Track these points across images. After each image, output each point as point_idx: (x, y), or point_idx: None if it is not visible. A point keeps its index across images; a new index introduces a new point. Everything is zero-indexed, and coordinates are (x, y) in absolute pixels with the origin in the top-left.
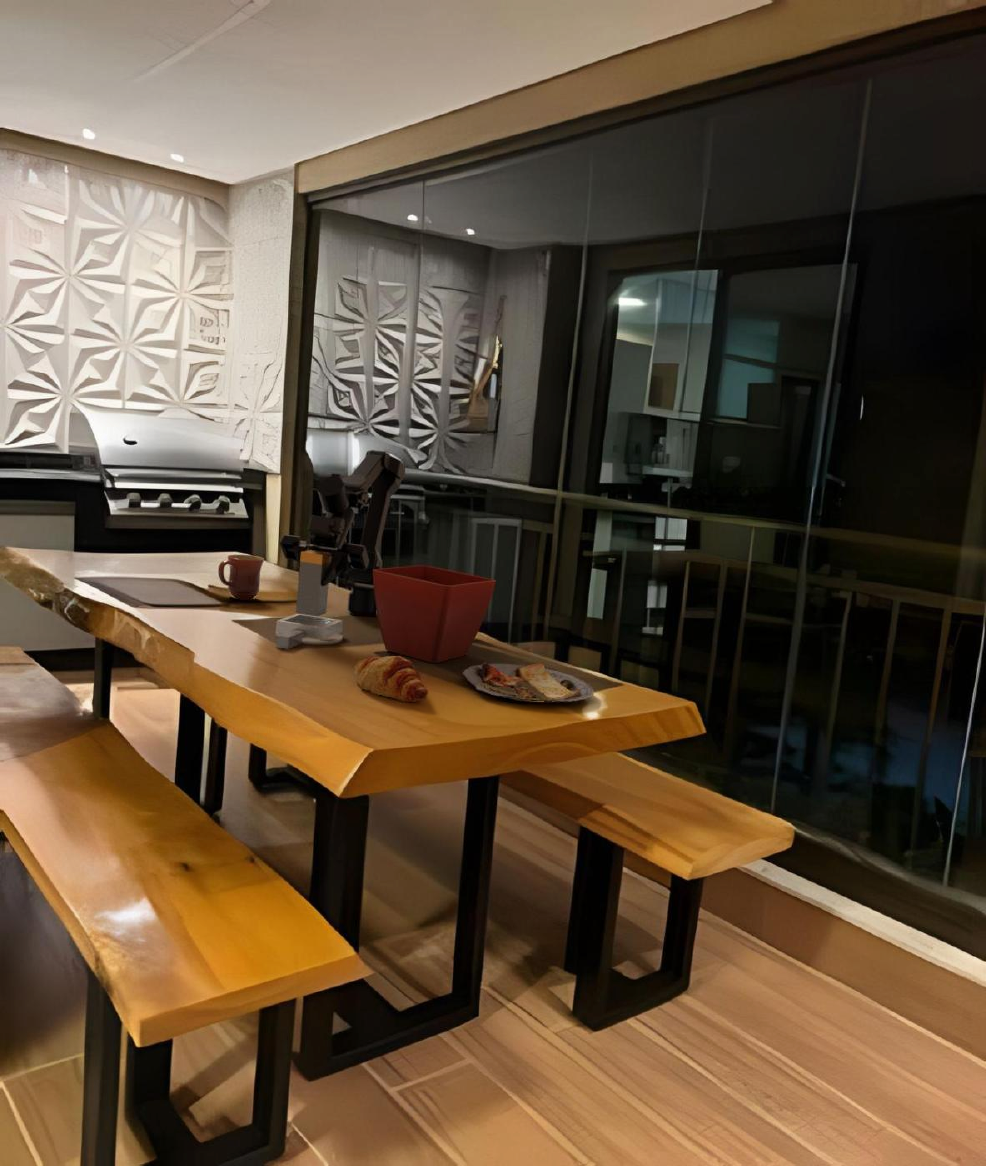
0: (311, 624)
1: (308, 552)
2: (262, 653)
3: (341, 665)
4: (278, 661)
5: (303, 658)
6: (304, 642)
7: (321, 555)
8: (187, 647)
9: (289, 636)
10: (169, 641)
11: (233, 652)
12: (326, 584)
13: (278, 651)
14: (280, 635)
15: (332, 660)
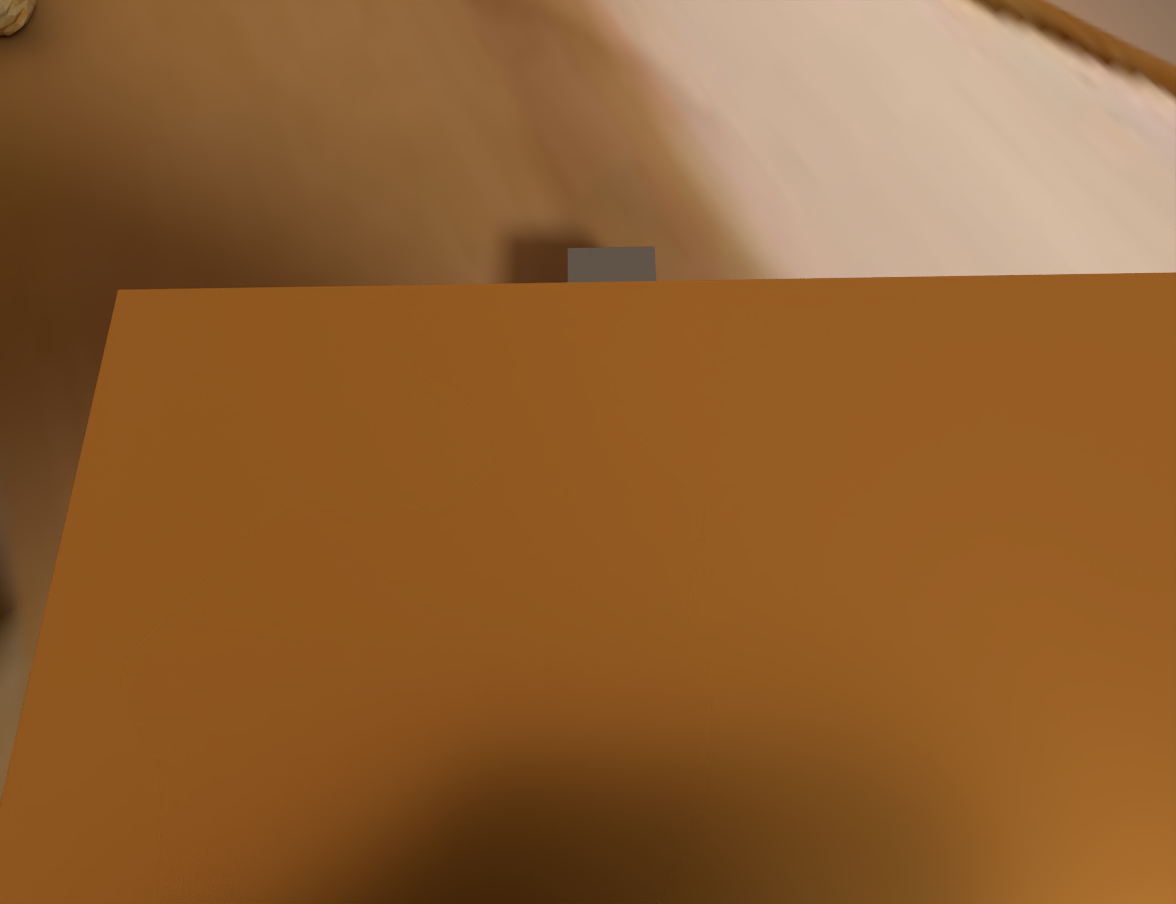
0: None
1: (1095, 429)
2: (643, 136)
3: (164, 164)
4: (494, 51)
5: (404, 173)
6: None
7: (204, 305)
8: (1011, 23)
9: (577, 278)
10: (1171, 67)
11: (775, 69)
12: None
13: (594, 224)
14: (642, 266)
15: (239, 229)
